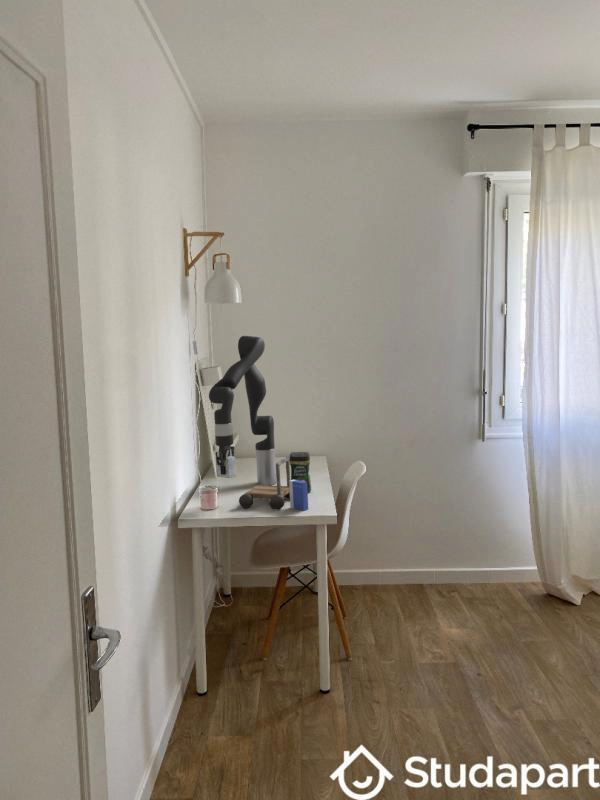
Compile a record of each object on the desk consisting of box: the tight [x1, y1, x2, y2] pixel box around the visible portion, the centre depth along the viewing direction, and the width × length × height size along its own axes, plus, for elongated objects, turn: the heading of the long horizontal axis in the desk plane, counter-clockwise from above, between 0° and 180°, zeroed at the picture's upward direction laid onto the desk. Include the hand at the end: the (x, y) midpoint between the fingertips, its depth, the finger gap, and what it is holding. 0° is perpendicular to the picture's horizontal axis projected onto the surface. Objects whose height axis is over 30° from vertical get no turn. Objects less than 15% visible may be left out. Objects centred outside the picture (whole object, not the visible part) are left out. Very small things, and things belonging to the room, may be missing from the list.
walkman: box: [289, 479, 309, 511], centre depth 271 cm, size 8×3×12 cm, turn 47°
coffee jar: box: [289, 451, 312, 494], centre depth 297 cm, size 10×8×19 cm
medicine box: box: [215, 456, 238, 479], centre depth 278 cm, size 8×4×9 cm, turn 52°
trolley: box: [238, 456, 291, 511], centre depth 281 cm, size 18×20×19 cm
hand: (226, 472), depth 278 cm, fingers closed on medicine box, 5 cm apart
